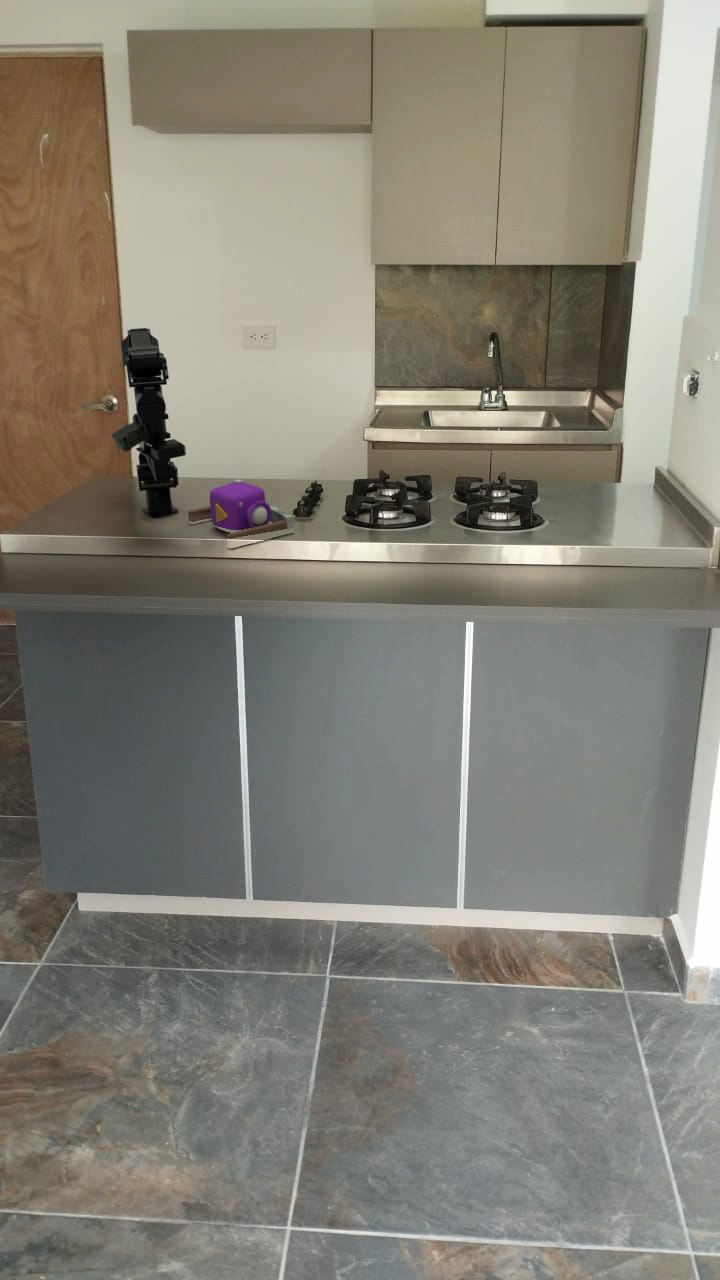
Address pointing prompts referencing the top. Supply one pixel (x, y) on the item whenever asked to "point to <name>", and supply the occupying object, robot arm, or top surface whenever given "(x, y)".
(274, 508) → the walnut dock
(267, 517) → the toy camera
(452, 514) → the top surface
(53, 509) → the top surface
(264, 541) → the top surface
